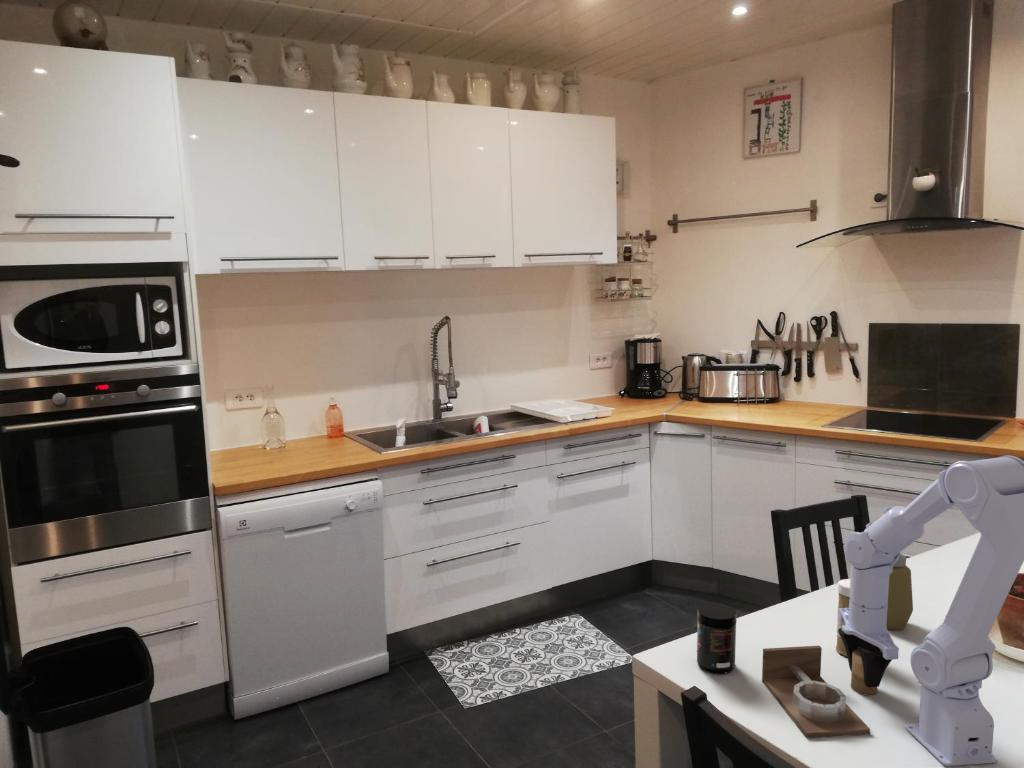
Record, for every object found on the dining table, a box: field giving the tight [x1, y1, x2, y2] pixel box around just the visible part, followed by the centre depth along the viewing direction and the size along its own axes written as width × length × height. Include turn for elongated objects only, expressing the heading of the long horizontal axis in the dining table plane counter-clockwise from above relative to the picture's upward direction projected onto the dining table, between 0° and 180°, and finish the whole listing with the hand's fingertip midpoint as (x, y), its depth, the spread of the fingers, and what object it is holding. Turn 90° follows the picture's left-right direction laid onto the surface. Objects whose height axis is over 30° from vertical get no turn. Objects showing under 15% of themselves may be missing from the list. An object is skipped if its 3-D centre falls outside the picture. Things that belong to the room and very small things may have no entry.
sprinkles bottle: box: [835, 578, 850, 657], centre depth 134 cm, size 5×5×13 cm
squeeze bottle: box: [886, 552, 914, 631], centre depth 145 cm, size 8×8×18 cm
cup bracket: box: [761, 645, 871, 739], centre depth 118 cm, size 16×10×6 cm, turn 4°
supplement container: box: [696, 602, 738, 675], centre depth 131 cm, size 7×7×10 cm
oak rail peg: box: [850, 650, 878, 696], centre depth 123 cm, size 4×4×6 cm
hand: (864, 678), depth 123 cm, fingers closed on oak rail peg, 4 cm apart
